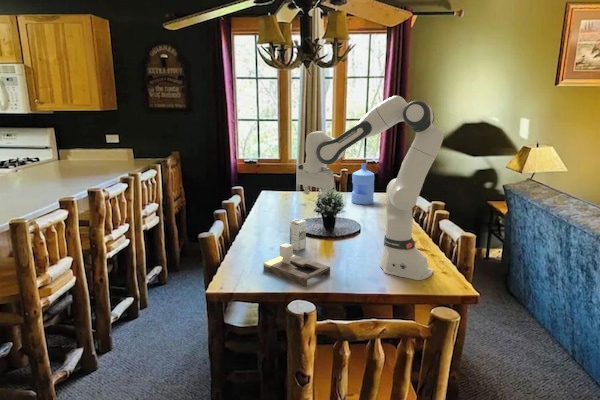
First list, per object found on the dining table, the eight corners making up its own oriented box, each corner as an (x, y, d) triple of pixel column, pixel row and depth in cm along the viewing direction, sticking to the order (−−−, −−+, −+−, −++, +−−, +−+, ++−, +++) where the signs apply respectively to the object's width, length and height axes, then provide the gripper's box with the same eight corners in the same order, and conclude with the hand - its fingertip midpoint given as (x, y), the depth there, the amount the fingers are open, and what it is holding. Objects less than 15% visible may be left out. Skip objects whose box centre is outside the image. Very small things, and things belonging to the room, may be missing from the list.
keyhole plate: (330, 274, 177) (330, 266, 177) (305, 286, 166) (305, 278, 165) (288, 259, 193) (288, 252, 192) (263, 270, 181) (263, 262, 181)
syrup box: (297, 245, 212) (297, 218, 208) (306, 248, 208) (306, 220, 205) (289, 248, 207) (289, 220, 204) (298, 251, 204) (298, 222, 200)
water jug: (361, 198, 310) (362, 161, 304) (377, 202, 299) (379, 163, 292) (346, 201, 301) (347, 163, 294) (363, 206, 289) (364, 166, 282)
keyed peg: (294, 268, 183) (294, 245, 181) (286, 271, 180) (286, 248, 177) (286, 265, 187) (286, 242, 184) (278, 268, 183) (278, 245, 180)
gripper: (337, 168, 189) (336, 197, 192) (302, 163, 202) (302, 191, 205) (329, 169, 184) (328, 200, 188) (294, 165, 197) (294, 193, 201)
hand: (314, 195), depth 197 cm, fingers open, 8 cm apart
